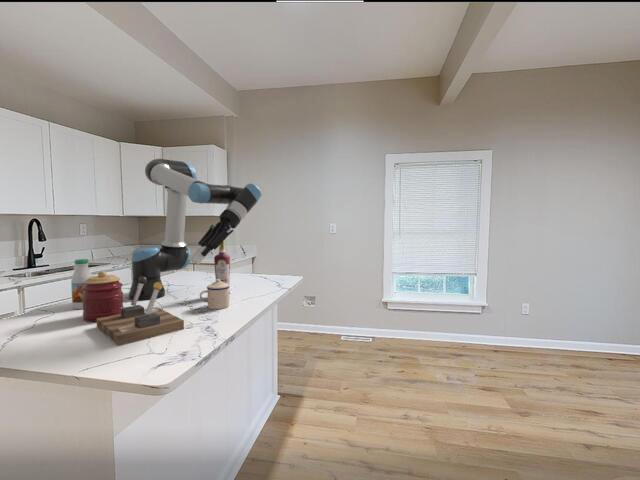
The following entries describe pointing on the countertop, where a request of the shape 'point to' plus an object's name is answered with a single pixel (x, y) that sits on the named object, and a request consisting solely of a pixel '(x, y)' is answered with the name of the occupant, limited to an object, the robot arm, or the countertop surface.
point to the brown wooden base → (138, 324)
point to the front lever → (154, 296)
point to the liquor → (222, 265)
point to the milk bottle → (79, 282)
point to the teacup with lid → (217, 295)
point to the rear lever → (138, 289)
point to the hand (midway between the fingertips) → (193, 261)
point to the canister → (102, 297)
